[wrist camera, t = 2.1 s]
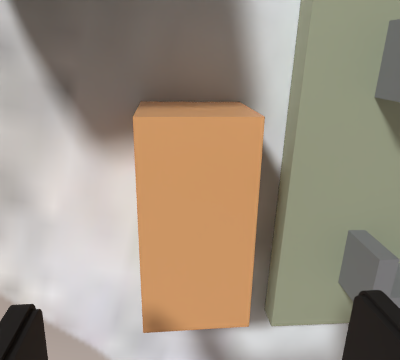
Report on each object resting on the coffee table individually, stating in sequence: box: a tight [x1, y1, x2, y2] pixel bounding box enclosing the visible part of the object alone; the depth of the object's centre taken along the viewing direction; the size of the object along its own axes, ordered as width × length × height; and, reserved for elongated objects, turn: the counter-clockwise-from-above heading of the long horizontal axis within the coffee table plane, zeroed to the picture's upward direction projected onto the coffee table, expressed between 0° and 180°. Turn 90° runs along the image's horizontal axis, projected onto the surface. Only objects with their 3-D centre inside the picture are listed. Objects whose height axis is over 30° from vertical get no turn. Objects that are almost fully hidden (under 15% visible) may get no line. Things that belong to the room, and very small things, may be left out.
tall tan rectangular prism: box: [133, 101, 265, 333], centre depth 17 cm, size 10×5×5 cm, turn 179°
